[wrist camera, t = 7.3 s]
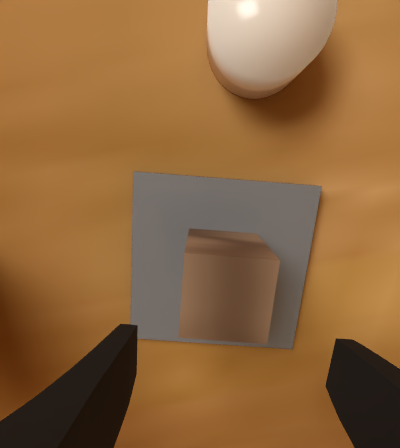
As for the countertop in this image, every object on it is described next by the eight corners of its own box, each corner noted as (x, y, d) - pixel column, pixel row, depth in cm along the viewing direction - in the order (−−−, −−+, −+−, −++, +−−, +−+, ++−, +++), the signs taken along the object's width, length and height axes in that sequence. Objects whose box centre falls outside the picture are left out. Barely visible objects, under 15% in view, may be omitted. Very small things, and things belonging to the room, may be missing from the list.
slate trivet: (133, 331, 19) (130, 338, 18) (136, 171, 16) (133, 171, 16) (288, 342, 19) (292, 349, 18) (316, 185, 17) (321, 186, 16)
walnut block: (184, 290, 17) (178, 337, 13) (189, 228, 16) (184, 252, 12) (248, 295, 17) (266, 344, 13) (256, 233, 17) (280, 260, 12)
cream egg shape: (202, 95, 16) (203, 74, 12) (210, -18, 14) (213, -77, 11) (297, 102, 16) (324, 84, 12) (313, -9, 14) (349, -65, 11)
